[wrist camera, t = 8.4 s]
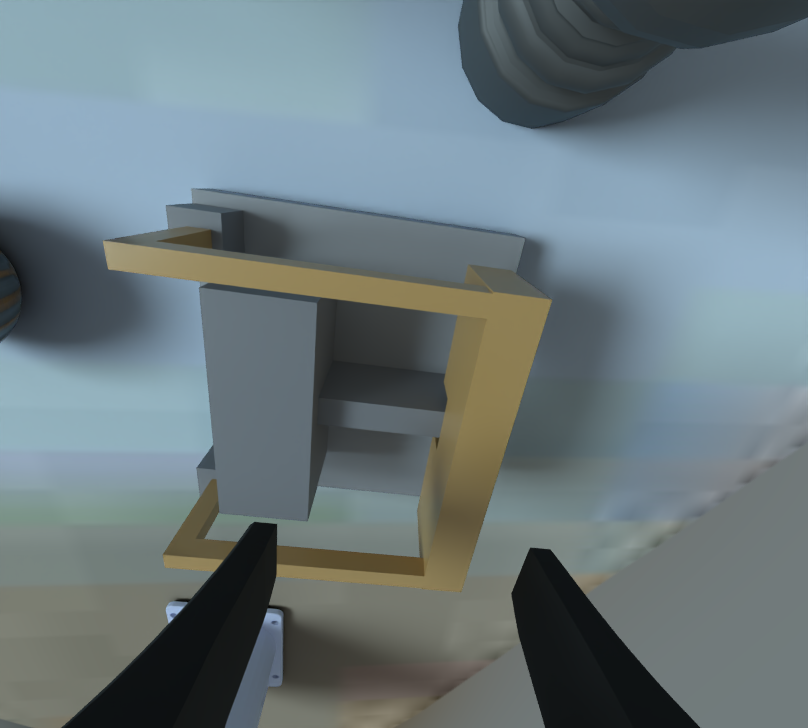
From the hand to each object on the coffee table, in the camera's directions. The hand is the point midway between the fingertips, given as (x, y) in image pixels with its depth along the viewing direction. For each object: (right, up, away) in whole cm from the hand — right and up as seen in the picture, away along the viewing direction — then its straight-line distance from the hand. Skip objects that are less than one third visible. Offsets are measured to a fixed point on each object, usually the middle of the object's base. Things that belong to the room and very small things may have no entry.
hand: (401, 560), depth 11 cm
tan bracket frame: (-3, +4, +5) cm, 7 cm away
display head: (-3, +6, +8) cm, 10 cm away
